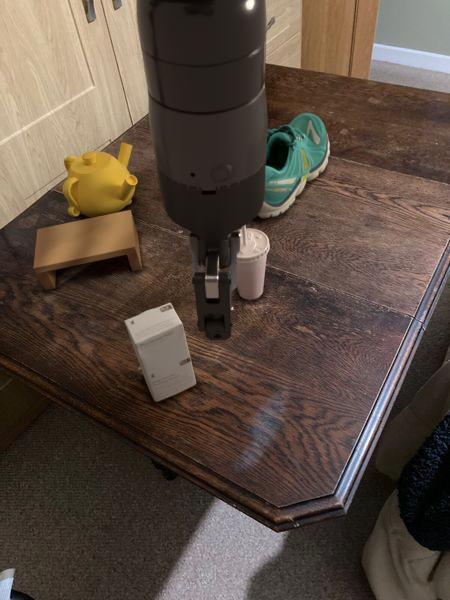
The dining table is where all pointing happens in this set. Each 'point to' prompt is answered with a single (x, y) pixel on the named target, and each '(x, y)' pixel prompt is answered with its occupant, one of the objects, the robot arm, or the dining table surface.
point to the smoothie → (251, 262)
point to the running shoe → (293, 161)
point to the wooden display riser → (85, 244)
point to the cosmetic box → (162, 351)
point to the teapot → (98, 183)
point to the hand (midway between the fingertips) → (219, 297)
